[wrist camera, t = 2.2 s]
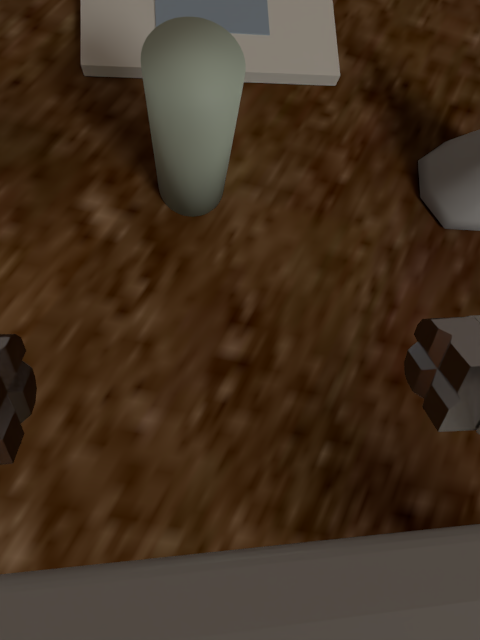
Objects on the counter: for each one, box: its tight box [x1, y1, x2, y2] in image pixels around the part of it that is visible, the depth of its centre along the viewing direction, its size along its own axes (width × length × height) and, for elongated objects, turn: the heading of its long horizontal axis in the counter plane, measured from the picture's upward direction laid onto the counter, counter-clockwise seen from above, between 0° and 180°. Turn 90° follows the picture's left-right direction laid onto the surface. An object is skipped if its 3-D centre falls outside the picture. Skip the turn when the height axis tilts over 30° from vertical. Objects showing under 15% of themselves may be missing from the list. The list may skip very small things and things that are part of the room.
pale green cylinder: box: [141, 17, 246, 216], centre depth 23 cm, size 4×4×11 cm
